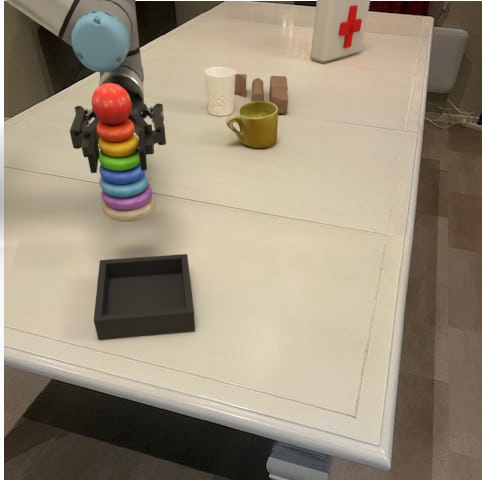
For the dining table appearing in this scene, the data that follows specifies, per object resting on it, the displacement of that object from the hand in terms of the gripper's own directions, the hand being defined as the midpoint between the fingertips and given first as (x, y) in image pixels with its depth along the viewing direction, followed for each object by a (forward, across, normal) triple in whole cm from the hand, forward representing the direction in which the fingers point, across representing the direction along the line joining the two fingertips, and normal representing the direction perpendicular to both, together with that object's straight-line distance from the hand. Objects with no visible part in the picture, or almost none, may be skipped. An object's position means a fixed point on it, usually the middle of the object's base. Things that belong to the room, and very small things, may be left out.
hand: (117, 162), depth 64 cm
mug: (-47, -27, -20) cm, 58 cm away
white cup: (-68, -22, -20) cm, 74 cm away
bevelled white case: (-112, -69, -20) cm, 133 cm away
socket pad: (+6, -2, -20) cm, 21 cm away
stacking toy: (-5, 0, -11) cm, 12 cm away
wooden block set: (-73, -33, -20) cm, 83 cm away
